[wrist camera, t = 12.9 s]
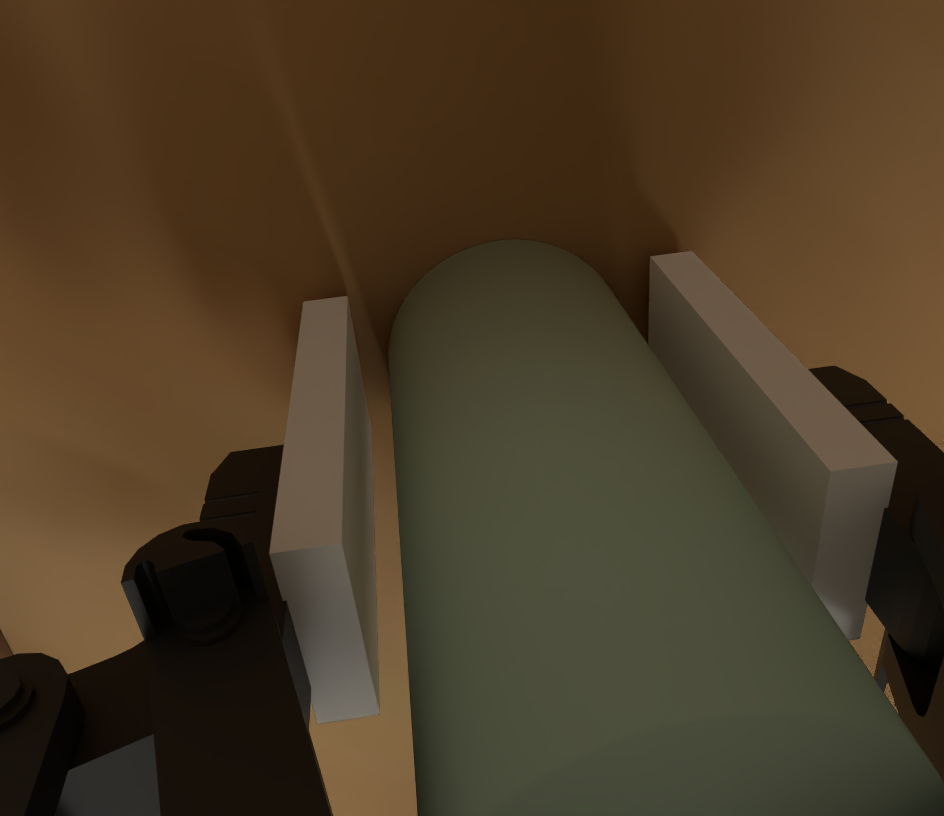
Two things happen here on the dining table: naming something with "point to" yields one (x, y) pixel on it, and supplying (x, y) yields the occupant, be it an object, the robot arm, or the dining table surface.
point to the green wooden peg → (605, 578)
